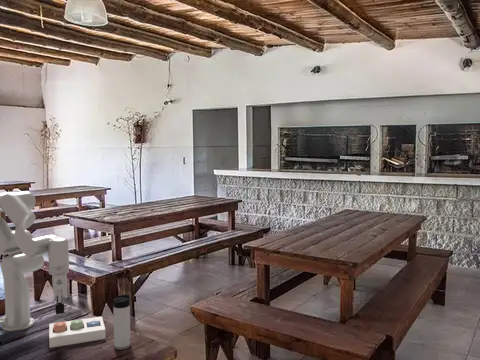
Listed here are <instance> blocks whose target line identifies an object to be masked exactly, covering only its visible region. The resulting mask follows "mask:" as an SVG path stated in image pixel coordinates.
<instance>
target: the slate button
mask: <svg viewBox="0 0 480 360" xmlns="http://www.w3.org/2000/svg"><path fill="white" fill-rule="evenodd" d="M95 326H99V321H91V322H89V323H88V327H95Z"/></svg>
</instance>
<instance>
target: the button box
mask: <svg viewBox="0 0 480 360" xmlns="http://www.w3.org/2000/svg"><path fill="white" fill-rule="evenodd" d="M74 320H75V319H73V320H68V321H67V320H66V321H64V322H65V323H66V331H62V332H55V333H54V324H55V323H56V322H52V323H49V324H48V325H49V326H48V327H49V328H48V329H49V332H48V336H49V337H48V341H49V348H50V349H51V348H57V347H63V346H70V345H76V344H81V343H87V342H94V341H101V340H106V339H107V338H106V336H107V335H106V327H105V323H104V319H103V316H96V317H95V316H94V317H88V318H81V319H79V320H83V328H82V329H75V330H71V322H72V321H74ZM91 321H99V326H95V327H88V323H89V322H91Z"/></svg>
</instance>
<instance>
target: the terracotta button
mask: <svg viewBox="0 0 480 360" xmlns="http://www.w3.org/2000/svg"><path fill="white" fill-rule="evenodd" d="M65 322H66V321H58V322H54V323H55V324H54V333H55V332H62V331H66V323H65Z"/></svg>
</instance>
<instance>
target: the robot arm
mask: <svg viewBox="0 0 480 360" xmlns="http://www.w3.org/2000/svg"><path fill="white" fill-rule="evenodd" d="M36 202H37V201H36V197H35V195H34V194H33V193H32V192H30V191H27V190H23V191H6V192H5V191H4V192H0V213H2V212H3V213H5V215H6V216H7V217H8V219H9V221H11V223H12V224H13V225H14V226H15V228H14V229H15V230H13V229H11V227H10V226H9V224H8V222H7V221H6V220H5V219H4V218H3V217H2V216H0V255H2V256H3V255H7V256H5V257H4V258H3V259H2V260H1V263H0V271H1V275H2V278H3V285H4V286H3V287H4V288H3V289H4V304H5V305H4V306H5V307H4V309H5V311H4V312H5V316H2V317H0V325H1V329H2V330H3V331H5V332H6V331H7V332H17V331H23V330H26V329H29V328H31V327H32V326H34V324H35V319H34V318H33V317H31V299H30V297H31V296H30V295H31V294H30V284H29V280H27V278H26V277H25V275H26V274H29V273H32V272H36V271H38V270H41V269H42V268H43V266H44V264H45V257H44V256H45V255H47V257H48V258H47V259H48V274H49V275H50V276H52V277H51V278H52V279H51V281H52V283H51V284H52V292H53V293H52V294H53V298H54V300H55V314H56V315H61V314H65V301H64V298H65V299H67V298H68V281H67V280H68V278H67V277H68V276H67V275H68V274H69V272H70V262H69V261H70V259H69V258H70V254H69V252H70V251H69V250H70V249H69V240H68V239H67V238H66V237H60V236H57V235H55V234H46V235H42V236H37V237H34V236H33V233H31V232H30V231H29V230H27V229H29V228H30V227H31V226H32V225H33V224H34V223H35V221H36V218H37V217H36V215H35V213H34V212H33V211H32V209H34V208H35V207H36V204H37V203H36Z"/></svg>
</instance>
